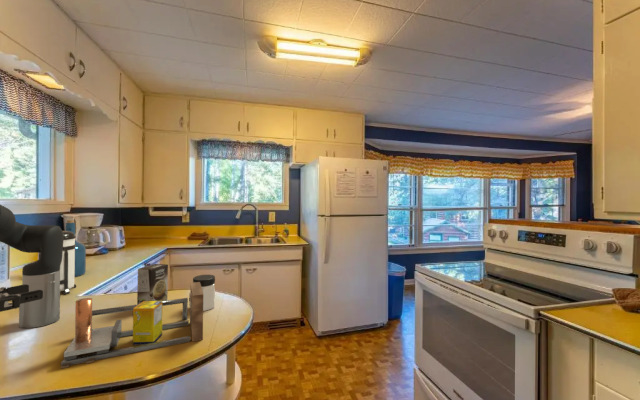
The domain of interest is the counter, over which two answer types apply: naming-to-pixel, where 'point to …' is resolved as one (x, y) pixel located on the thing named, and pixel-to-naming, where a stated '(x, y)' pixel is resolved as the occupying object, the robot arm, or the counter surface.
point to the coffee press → (67, 262)
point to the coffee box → (152, 283)
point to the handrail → (128, 308)
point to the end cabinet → (196, 311)
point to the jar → (207, 290)
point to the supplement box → (147, 322)
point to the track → (95, 356)
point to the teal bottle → (77, 251)
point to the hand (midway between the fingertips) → (35, 291)
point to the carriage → (91, 333)
